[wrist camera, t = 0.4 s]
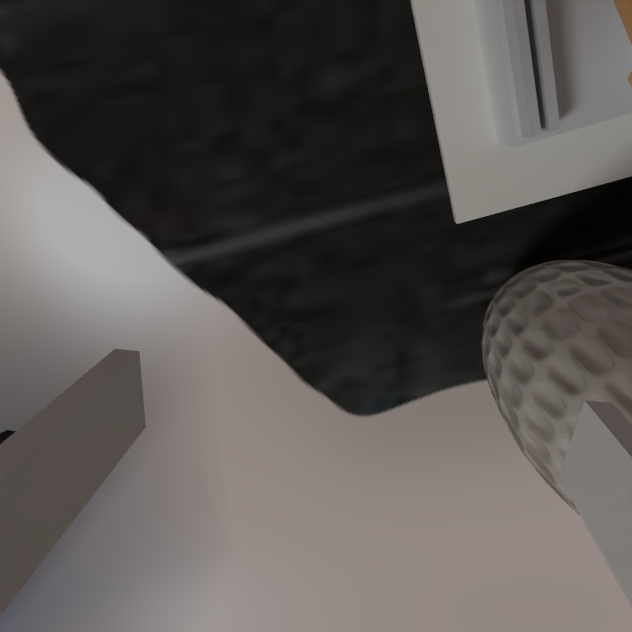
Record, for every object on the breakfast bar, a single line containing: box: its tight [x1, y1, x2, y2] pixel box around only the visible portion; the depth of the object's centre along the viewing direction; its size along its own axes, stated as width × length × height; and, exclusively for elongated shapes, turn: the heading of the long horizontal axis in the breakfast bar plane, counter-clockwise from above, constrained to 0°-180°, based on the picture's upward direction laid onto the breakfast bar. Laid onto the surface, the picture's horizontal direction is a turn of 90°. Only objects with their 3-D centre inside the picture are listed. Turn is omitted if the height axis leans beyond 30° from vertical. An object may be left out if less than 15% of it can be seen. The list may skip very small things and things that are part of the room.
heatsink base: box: [410, 0, 632, 224], centre depth 29 cm, size 24×18×8 cm
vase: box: [481, 260, 632, 515], centre depth 27 cm, size 13×13×28 cm
